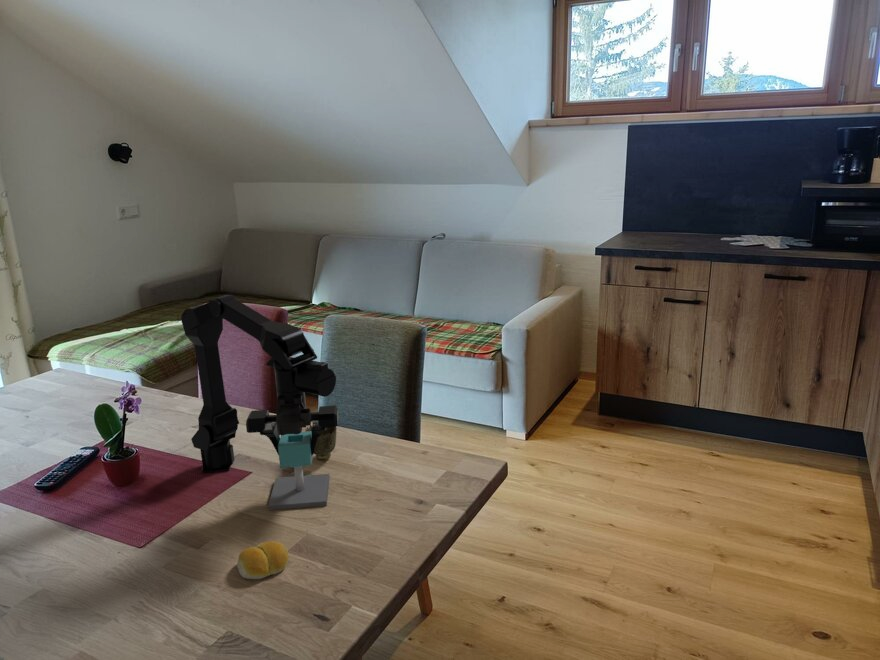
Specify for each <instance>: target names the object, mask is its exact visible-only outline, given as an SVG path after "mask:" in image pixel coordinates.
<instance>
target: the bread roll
mask: <svg viewBox="0 0 880 660" xmlns="http://www.w3.org/2000/svg"><path fill="white" fill-rule="evenodd" d="M289 559H290V554H289V551H288V549H287V547H286V546H285V545H283V543H281V542H278V541H264V542H261V543H260V544H258V545H257V546H256V547H254V546H253V547H250V546H249V547H247V548H244V549H242V551H241V552H240V553H239V555H238V559H237V565H236V567H237V570H238V573H239V574H240V576H241V577H242V578H244V579H246V580H261V579H265V578H267V577H269V576H271V575H277V574H279V573H280V572H282V571H283V570H284V569H286V567H287V564H288V562H289Z"/></svg>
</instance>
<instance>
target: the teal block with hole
mask: <svg viewBox="0 0 880 660" xmlns="http://www.w3.org/2000/svg"><path fill="white" fill-rule="evenodd" d="M311 437H312V432H311V431H307V432H305V431H302V432H301V433H300V434H285V435H280V441H279V444H278V452H279V455H278V460H279V467H280V468H294V467H298V466H302V467H310V466H312V461H313V455H314V454H313V455H311Z"/></svg>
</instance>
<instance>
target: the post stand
mask: <svg viewBox="0 0 880 660" xmlns="http://www.w3.org/2000/svg"><path fill="white" fill-rule="evenodd" d="M303 469H304V468H303V466H298V467H293V471H294V475H293V476H282V477H281V476H280V477H275V480H274V484H273V487H272V491H271V495H270V499H269V502H268V511H272V510H273V511H274V510H286V509H298V508H299V509H300V508H310V507H313V508H314V507H324V506H327V505H328V496H329V487H330V486H329V485H330V473H321V474H309V475H308V474H307V475H304V471H303Z"/></svg>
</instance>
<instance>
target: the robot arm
mask: <svg viewBox="0 0 880 660" xmlns="http://www.w3.org/2000/svg"><path fill="white" fill-rule="evenodd" d="M180 317H181V319H180V321H181V325H182V328H183V331H184V335H185V336H186V337H187V338H188V340H189V341H190V342H191V343H192V344H193V345H194V351H195V357H196V364H197V370H198V376H199V383H200V384H199V385H200V391H201V396H202V397H201V398H202V402H203V405H202V408H201V410H200V413H199V416H198V430H197V431H196V432H195V433H194V435H193V436H192V437H191V439H190V440H191V442H192V446H193V447H194V448H195V449H199V450H200V456H201V463H202V467H201V470H200V473H202V472H205V473H215V472H216V471H219V472H228V471H230V469H231V467H232V465H233V464H234V461H235V451H234V446H233V444H231V440H233V439H234V438H236V434H237V431H238V427H239V424H240V421H239V419H238V410H237V409H236V408H235V407H232V406H231V404H229V403H228V402H227V399H226V398H227V397H226V392H225V391H226V390H225V386H224V385H225V384H224V377H223V370H222V363H221V356H220V350H219V340H220V338H221V335H222V333H223V329H224V322H223V321H224V320H225V321H227V322H228V323H230V324H232V325H233V326H235V327H236V328H238V329H240V330H242V332H244V333H246V334H248V335H249V336H251V337H253V339H256V340H257V341H258V342H259V344H260V346H261V349H262V351H264V352H265V353H266V354H267V355H269V357H271V358H270V359H269V360H268V361H267V362H266V366H267V367H271V368H274V378H275V389H276V398H277V406H276V410H275V413H276V414H270V412H269V410H268V409H259V410H258V409H257V410H251V411H250V412H249V414H248V416H247V419H246V421H245V425H246V426H245V427H246V428H245V429H246V433H248V434H251V433H254V434H255V433H259V434H260V436H265V437H267V438H268V439H269V441H270V442H271V444H272V445H273V447H274V450H275V451H276V453H277V455H278V456H279V452H278V444H279V441H280V437H281V435H285V434H300V433H301V432H303V428H307V427H310V425H311V426H312V437H311V455H315V454H314V450H315V446H316V442H317V439H318V436H319V434H320V432H321V431H325V430H326V428H330V427H336V428H337V427H338V425H339V408H338V407H337V405H336V404H335V405H323V406H321V405H319V408H318V411H314V412H312V411H311V408H307V402H306V394H312V395H315V396H320V397H328V396H330V395H331V394H332V392H333V391H334V390H335V388H336V384H337V376H336V374H335V372H334V370H333V369H331V368H329V365H328V362H325V361H316V360H317V359H318V356H317V354H316V352H315V350H314V349H313V347H312V346H311V344H310V343H309V341H308V339H307V338H306V336H305V335H304V331H302V329H300V328H299V327H298V326H294V325H292V324H290V323H286V322H277V321H273V320H271V319H270V318H268V317H267V316H264V315H263V314H261V313H259V312H258V311H256V310H255V309H253V308H252V307H250V306H248V305H246V304H244V303H243V302H242V301H240V300H238V298H237V297H236V296H234V295H233V294H231V295H230V294H225V295H222V296H219V297H214V298H213V299H211V300H210V301H208V302H207V303H203V304H202V303H201V304H200V305H199V304H198V305H196V306H192V307H188V308H185V310H184V311H183V313H181V316H180ZM300 353H302V354H301V355H298V354H300ZM296 355H298V356H296ZM294 356H295V357H294ZM291 357H293V358H291Z"/></svg>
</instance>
